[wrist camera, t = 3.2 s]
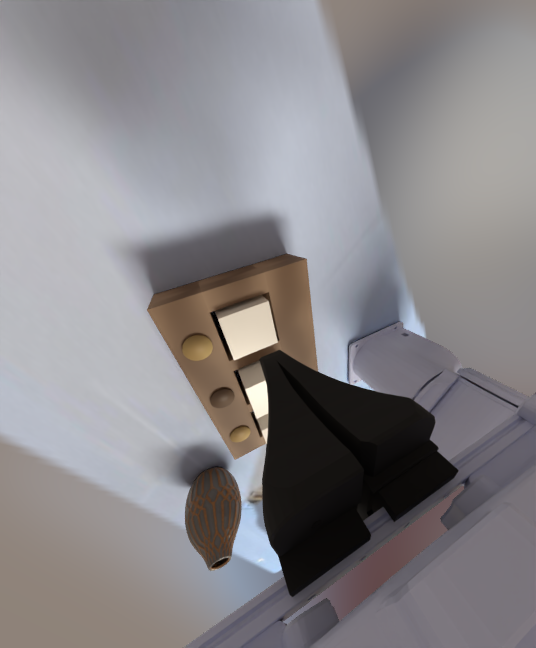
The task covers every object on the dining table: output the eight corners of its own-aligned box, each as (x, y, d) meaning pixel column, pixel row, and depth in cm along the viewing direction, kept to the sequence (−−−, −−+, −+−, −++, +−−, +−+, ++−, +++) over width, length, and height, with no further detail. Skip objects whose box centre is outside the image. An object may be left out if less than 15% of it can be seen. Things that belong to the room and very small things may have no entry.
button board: (286, 253, 18) (307, 259, 15) (308, 394, 28) (323, 414, 25) (153, 294, 16) (146, 310, 13) (229, 433, 26) (235, 461, 23)
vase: (173, 487, 26) (169, 588, 19) (212, 454, 26) (223, 541, 19) (209, 495, 30) (217, 582, 23) (243, 466, 30) (262, 543, 23)
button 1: (253, 287, 18) (268, 301, 15) (262, 323, 20) (277, 342, 17) (211, 301, 17) (217, 319, 14) (225, 337, 19) (234, 360, 16)
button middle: (271, 345, 20) (289, 369, 17) (278, 373, 22) (295, 399, 19) (234, 361, 19) (245, 389, 16) (245, 388, 21) (256, 418, 18)
